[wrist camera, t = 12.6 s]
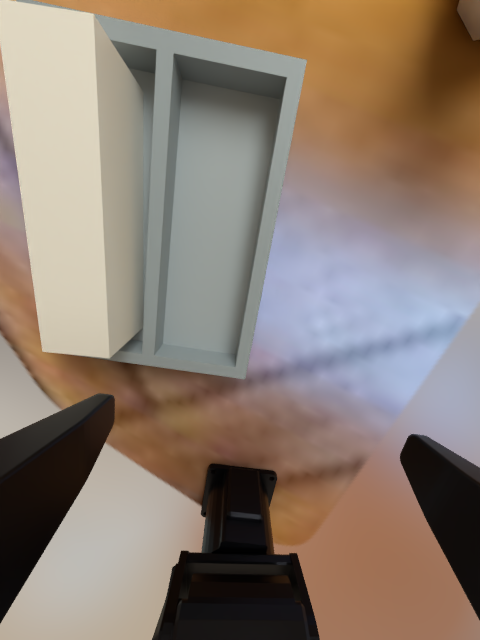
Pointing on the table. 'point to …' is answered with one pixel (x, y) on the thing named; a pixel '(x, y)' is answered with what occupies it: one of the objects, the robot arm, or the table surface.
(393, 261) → the table surface
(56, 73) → the cream rectangular block
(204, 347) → the divided grey tray
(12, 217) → the table surface
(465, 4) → the salt shaker
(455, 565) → the robot arm
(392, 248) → the table surface
